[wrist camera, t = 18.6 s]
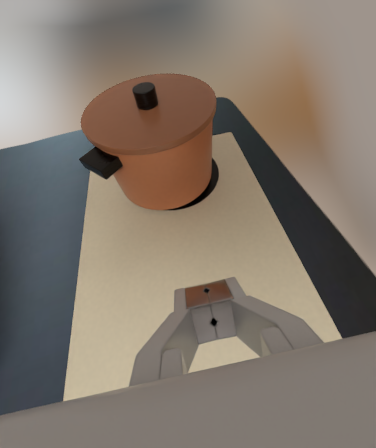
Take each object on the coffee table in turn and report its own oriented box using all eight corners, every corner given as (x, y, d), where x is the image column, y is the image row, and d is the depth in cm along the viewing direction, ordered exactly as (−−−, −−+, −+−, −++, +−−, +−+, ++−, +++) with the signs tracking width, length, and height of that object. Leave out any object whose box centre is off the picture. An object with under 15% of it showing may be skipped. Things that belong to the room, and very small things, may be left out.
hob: (230, 137, 30) (231, 131, 29) (508, 672, 8) (542, 710, 8) (94, 166, 29) (91, 161, 28) (30, 802, 8) (8, 858, 7)
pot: (166, 131, 30) (149, 45, 21) (236, 157, 26) (252, 61, 17) (93, 196, 25) (26, 115, 15) (166, 243, 20) (131, 169, 11)
